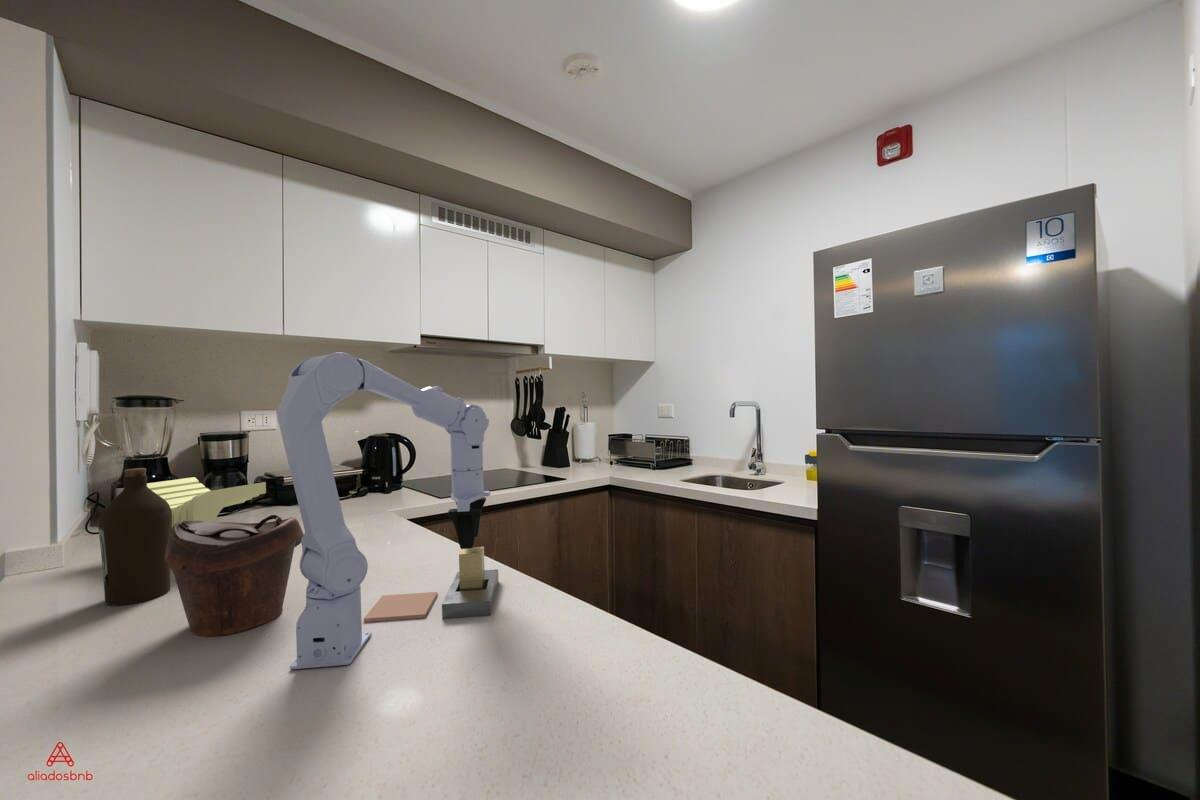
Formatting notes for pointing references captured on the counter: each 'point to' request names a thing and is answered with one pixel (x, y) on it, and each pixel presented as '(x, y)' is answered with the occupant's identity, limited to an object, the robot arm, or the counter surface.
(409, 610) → the terracotta tile
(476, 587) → the brass bar
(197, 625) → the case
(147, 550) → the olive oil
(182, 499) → the slatted curved stool
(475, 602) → the grey slotted block
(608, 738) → the counter surface
